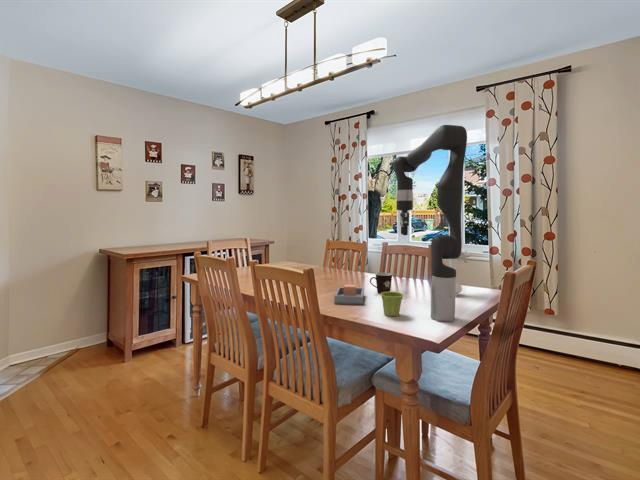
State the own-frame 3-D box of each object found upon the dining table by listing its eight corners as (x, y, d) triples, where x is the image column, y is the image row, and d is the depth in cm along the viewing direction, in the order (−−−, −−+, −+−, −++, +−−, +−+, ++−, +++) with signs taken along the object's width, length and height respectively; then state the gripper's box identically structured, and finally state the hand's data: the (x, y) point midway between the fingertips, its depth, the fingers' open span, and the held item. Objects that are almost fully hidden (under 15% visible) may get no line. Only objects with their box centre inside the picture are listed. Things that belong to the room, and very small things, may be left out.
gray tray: (362, 304, 162) (362, 296, 162) (334, 303, 164) (334, 295, 164) (363, 295, 180) (363, 288, 180) (338, 294, 182) (338, 287, 182)
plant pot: (386, 310, 154) (387, 290, 153) (407, 314, 148) (407, 293, 147) (375, 315, 147) (376, 294, 146) (396, 319, 141) (396, 298, 140)
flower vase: (472, 293, 183) (474, 245, 181) (455, 299, 171) (456, 248, 169) (448, 289, 193) (450, 243, 191) (430, 295, 180) (432, 246, 178)
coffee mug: (391, 291, 189) (391, 272, 188) (392, 295, 181) (393, 275, 180) (369, 290, 190) (369, 272, 190) (369, 294, 182) (370, 275, 181)
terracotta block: (355, 299, 169) (355, 287, 168) (343, 299, 170) (343, 286, 169) (355, 296, 174) (355, 284, 174) (344, 296, 175) (344, 284, 175)
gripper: (414, 199, 158) (414, 235, 159) (411, 200, 172) (410, 233, 173) (397, 199, 159) (397, 235, 160) (395, 200, 173) (394, 233, 174)
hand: (404, 234), depth 167 cm, fingers open, 8 cm apart
